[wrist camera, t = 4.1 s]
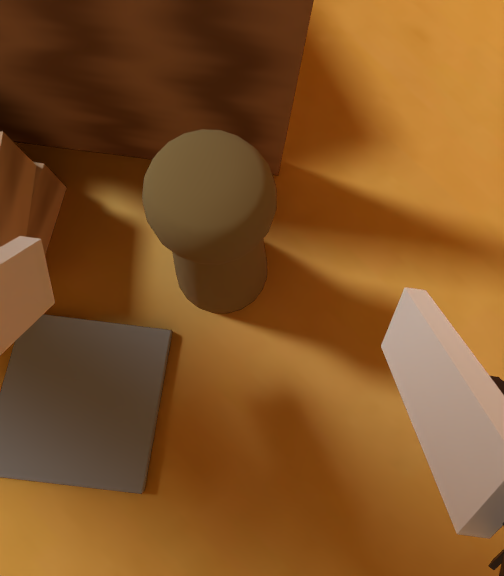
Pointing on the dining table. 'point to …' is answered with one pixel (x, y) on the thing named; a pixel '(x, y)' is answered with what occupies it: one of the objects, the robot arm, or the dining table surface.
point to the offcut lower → (44, 204)
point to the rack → (149, 72)
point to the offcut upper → (14, 190)
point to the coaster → (82, 403)
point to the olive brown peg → (212, 216)
